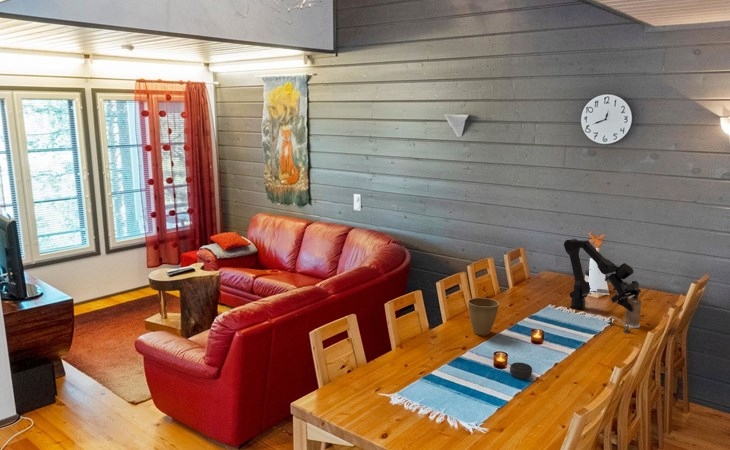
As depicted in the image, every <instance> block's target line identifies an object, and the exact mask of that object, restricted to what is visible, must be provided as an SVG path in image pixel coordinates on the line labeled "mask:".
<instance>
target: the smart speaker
mask: <svg viewBox="0 0 730 450" xmlns="http://www.w3.org/2000/svg"><path fill="white" fill-rule="evenodd" d="M509 373H510V375H511V376H512V377H514V378H517V379H520V380H521V379H522V380H525V379H529V378H531V377H532V375H533V367H532V366H531V365H529V364H528V363H525V362H518V361H517V362H514V363H511V364H510V366H509Z"/></svg>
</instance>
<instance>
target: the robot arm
mask: <svg viewBox="0 0 730 450" xmlns="http://www.w3.org/2000/svg"><path fill="white" fill-rule="evenodd" d="M563 247H564V250H565V252H566V253H567V255H569V259H570V263H571V264H570V265H571V267H572V268H571V269H572V272H573V276H574V278H573V279H574V285H573V290H572V291H571V292H570V293H569V298H571V302H570V306H569V308H571V309H575V310H578V311H582V310H584V309H585V308H586V300H585V299H586V298H587V297H588V295H590V293H591V292H590V289H591V288H590V285H589V282H586V281H585V275H584V273H583V272H584V271H583V268H582V264H581V259H580V250H581V249H582V250H583V251H584V252H585V253H586V254H587V256H589V257H590V259H592V260H593V262H594V263H596V266H597V268H598V271H599V272H600V273H601V274H603V275H605V277H604V282H608V281H609V282H610V284H611V285H612V287H613V288H612V290H613V291H616V294H615V295H613V296H611V298H610V301H611V303H613V304H617V305H619V306H621V307H623V308H625V310H626V309H628V310H629V311H633V310H632V308H631V306H630V304H629V302H628V299H630V298H635V299H638V300H639V296H640V294H641V293H642V291H641V289H640V288H639V286H640V283H639V282H638V280H633V281H631V283H628V282H626V281H624V280H626V279H627V278H630V276H631V275H633V274H634V269H633V267H631V266H630V265H629V264H627V263H626V262H623V263H621V264H620V266H618V265H616V264H615V263H614V262H613V261H611V260H610V259H607V258H606V257H604V256H603V255H602V254H601V253H600V252H599V251H598V250H597V249H596V247H594V246H593V245H592V244H591V242H590V241H589V240H583V239H581V240H578V239H577V238H570V239H566V240H565V241H564V242H563Z"/></svg>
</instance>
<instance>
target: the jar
mask: <svg viewBox="0 0 730 450" xmlns="http://www.w3.org/2000/svg"><path fill="white" fill-rule="evenodd" d="M589 270H590V269H586V270H585V271H584V280H585V281H586V282H588V277H589Z"/></svg>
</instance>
